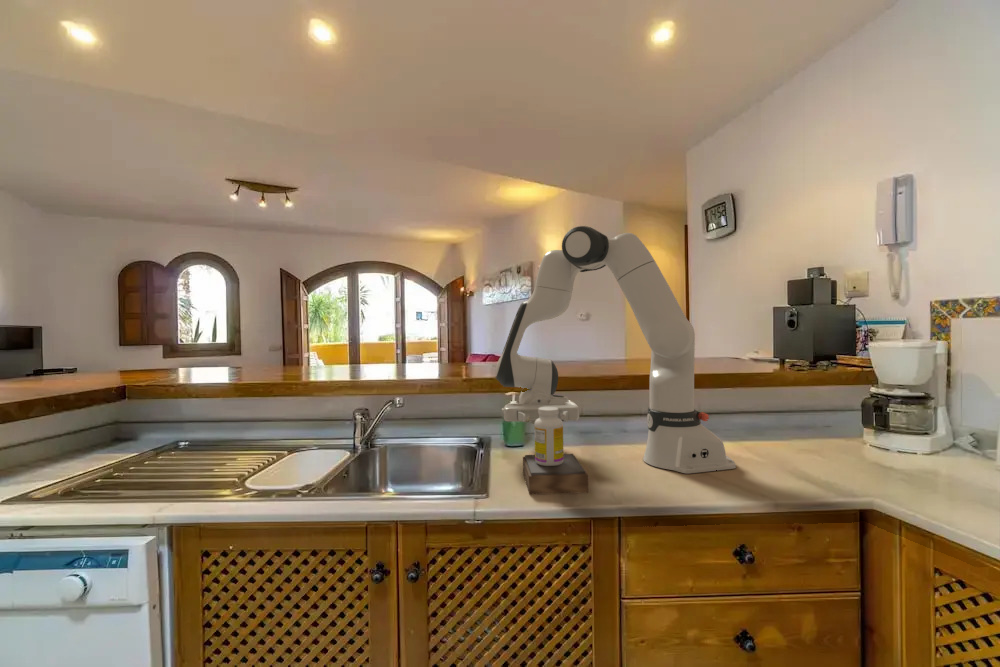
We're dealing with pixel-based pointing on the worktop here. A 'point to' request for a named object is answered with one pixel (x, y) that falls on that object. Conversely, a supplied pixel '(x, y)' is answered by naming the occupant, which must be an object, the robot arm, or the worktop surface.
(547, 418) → the supplement bottle
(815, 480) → the worktop surface
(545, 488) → the block
